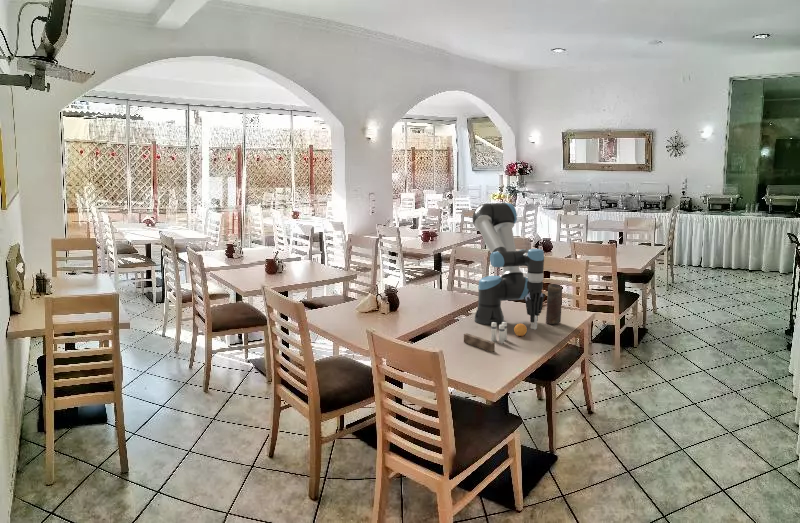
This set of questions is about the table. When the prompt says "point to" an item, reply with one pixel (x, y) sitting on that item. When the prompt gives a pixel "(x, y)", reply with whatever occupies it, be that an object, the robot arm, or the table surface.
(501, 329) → the pin
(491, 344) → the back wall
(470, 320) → the table surface
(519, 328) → the ball
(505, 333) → the front pin
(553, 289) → the rusty brown cylinder
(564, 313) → the table surface
